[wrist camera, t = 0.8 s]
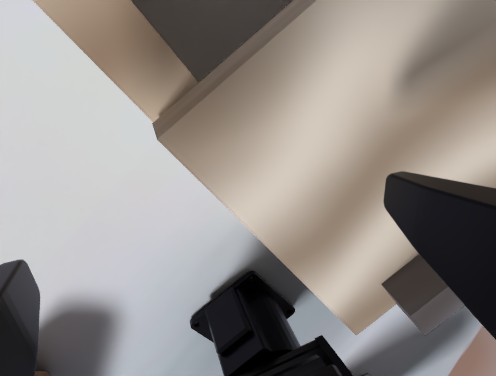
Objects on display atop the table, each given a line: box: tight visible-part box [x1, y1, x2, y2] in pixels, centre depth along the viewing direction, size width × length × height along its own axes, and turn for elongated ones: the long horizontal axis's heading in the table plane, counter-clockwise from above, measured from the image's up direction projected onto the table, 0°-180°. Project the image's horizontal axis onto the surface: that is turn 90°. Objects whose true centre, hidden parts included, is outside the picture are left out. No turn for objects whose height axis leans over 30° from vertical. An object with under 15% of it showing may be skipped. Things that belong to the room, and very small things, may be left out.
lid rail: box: [33, 0, 199, 122], centre depth 15 cm, size 34×2×9 cm, turn 37°
